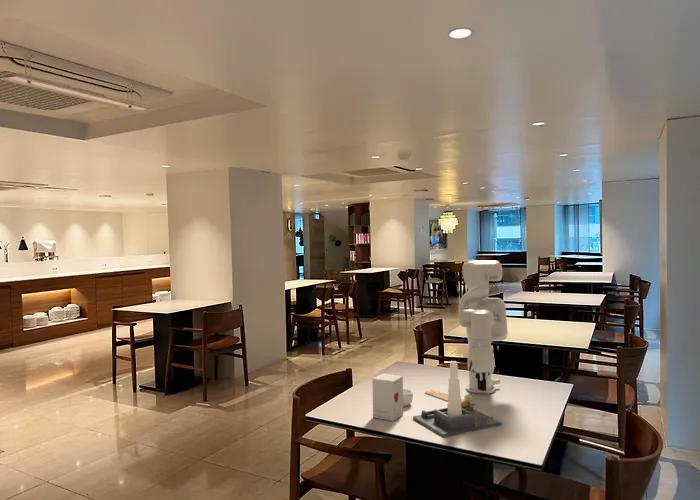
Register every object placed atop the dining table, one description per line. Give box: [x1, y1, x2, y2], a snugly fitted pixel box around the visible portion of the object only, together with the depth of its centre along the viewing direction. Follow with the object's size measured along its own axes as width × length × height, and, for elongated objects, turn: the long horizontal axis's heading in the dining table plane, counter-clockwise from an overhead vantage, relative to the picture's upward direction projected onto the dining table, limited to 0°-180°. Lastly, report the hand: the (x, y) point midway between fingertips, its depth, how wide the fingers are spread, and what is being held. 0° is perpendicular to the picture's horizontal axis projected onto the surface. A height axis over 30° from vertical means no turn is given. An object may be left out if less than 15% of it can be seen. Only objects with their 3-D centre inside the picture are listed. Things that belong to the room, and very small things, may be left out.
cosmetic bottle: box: [447, 360, 462, 417], centre depth 175 cm, size 6×6×22 cm
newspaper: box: [424, 389, 476, 406], centre depth 206 cm, size 24×7×2 cm, turn 33°
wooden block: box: [446, 394, 472, 408], centre depth 188 cm, size 10×2×5 cm, turn 114°
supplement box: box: [371, 373, 404, 422], centre depth 186 cm, size 9×9×15 cm
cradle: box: [412, 406, 503, 438], centre depth 179 cm, size 25×20×5 cm
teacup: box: [403, 388, 414, 407], centre depth 200 cm, size 10×8×5 cm
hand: (482, 389), depth 192 cm, fingers closed
